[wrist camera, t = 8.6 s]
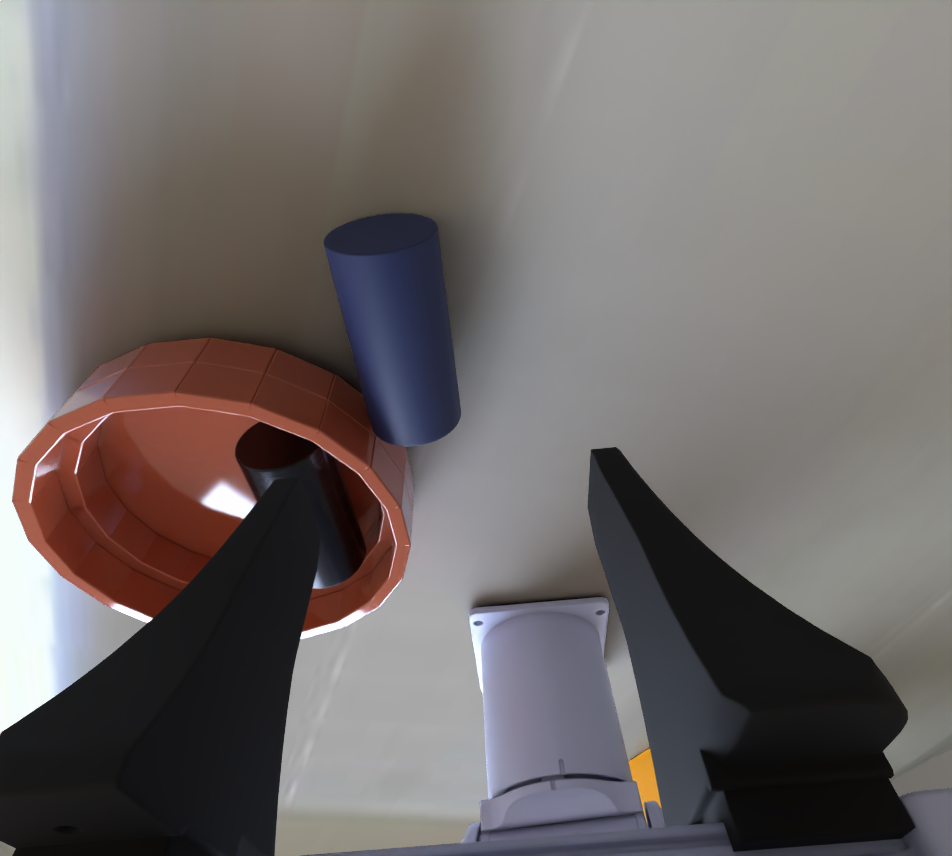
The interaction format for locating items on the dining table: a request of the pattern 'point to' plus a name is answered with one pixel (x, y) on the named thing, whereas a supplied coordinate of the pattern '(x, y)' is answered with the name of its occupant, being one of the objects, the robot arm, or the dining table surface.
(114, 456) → the bowl
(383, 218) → the navy tube
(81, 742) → the robot arm
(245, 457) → the black cylinder
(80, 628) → the dining table surface
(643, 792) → the orange juice
